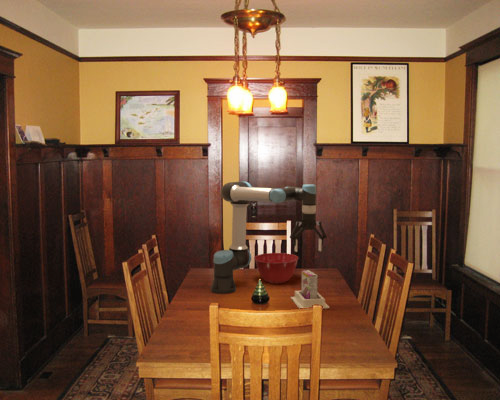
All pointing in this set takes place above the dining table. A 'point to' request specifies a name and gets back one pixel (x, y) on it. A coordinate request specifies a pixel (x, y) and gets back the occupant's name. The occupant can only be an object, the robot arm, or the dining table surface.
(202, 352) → the dining table surface
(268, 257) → the mixing bowl
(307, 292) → the candy bar box
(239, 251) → the robot arm
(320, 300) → the beige shallow square tray
